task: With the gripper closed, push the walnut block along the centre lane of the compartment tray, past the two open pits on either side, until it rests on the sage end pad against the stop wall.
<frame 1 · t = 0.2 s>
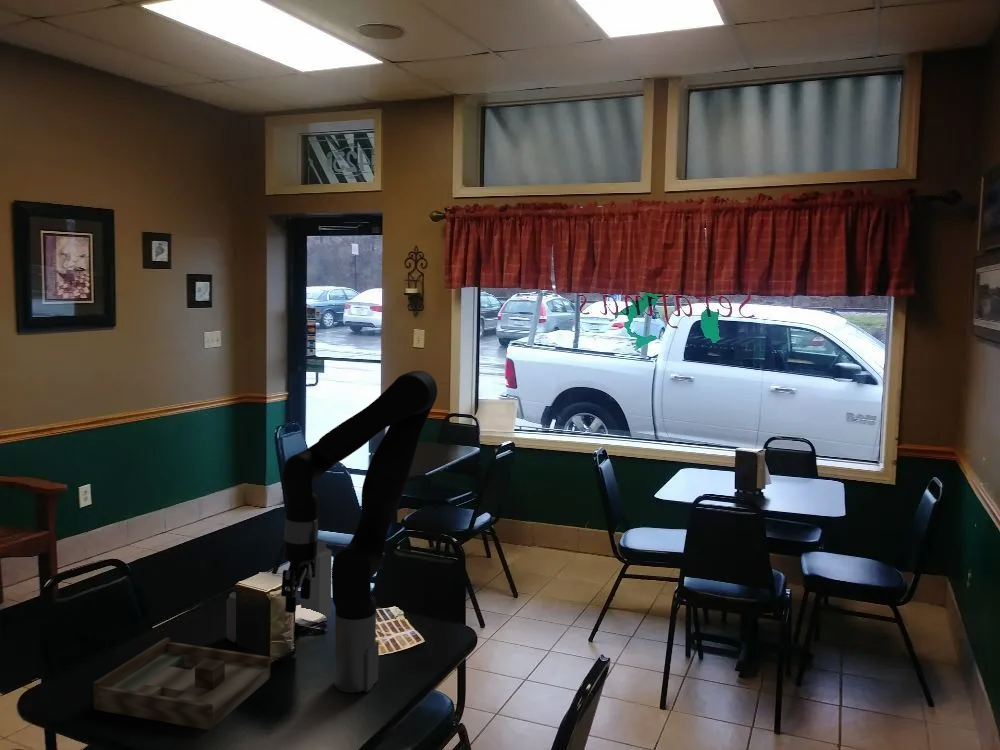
hand: (298, 605, 186), 18 cm above the table, tool pointing down, fingers open, 8 cm apart
block: (209, 683, 177), point 3 cm above the table, touching compartment tray
milk: (316, 618, 223), on the table
compartment tray: (186, 692, 179), on the table
can: (241, 639, 208), on the table
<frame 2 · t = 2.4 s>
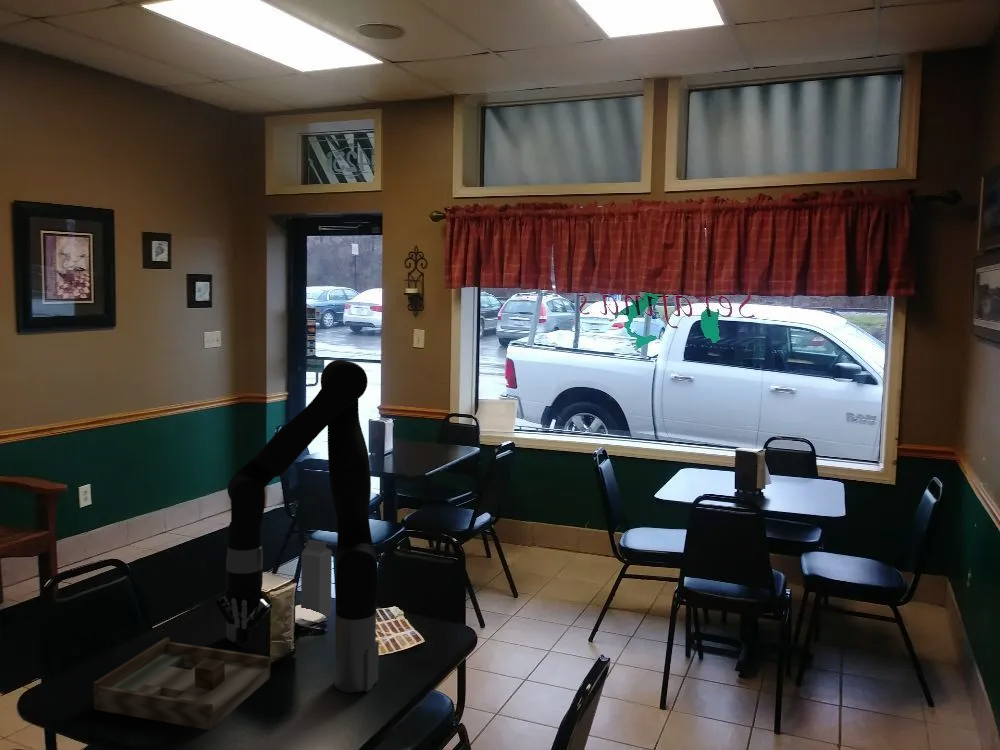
hand: (243, 643, 174), 13 cm above the table, tool pointing down, fingers closed
nothing on the table moved.
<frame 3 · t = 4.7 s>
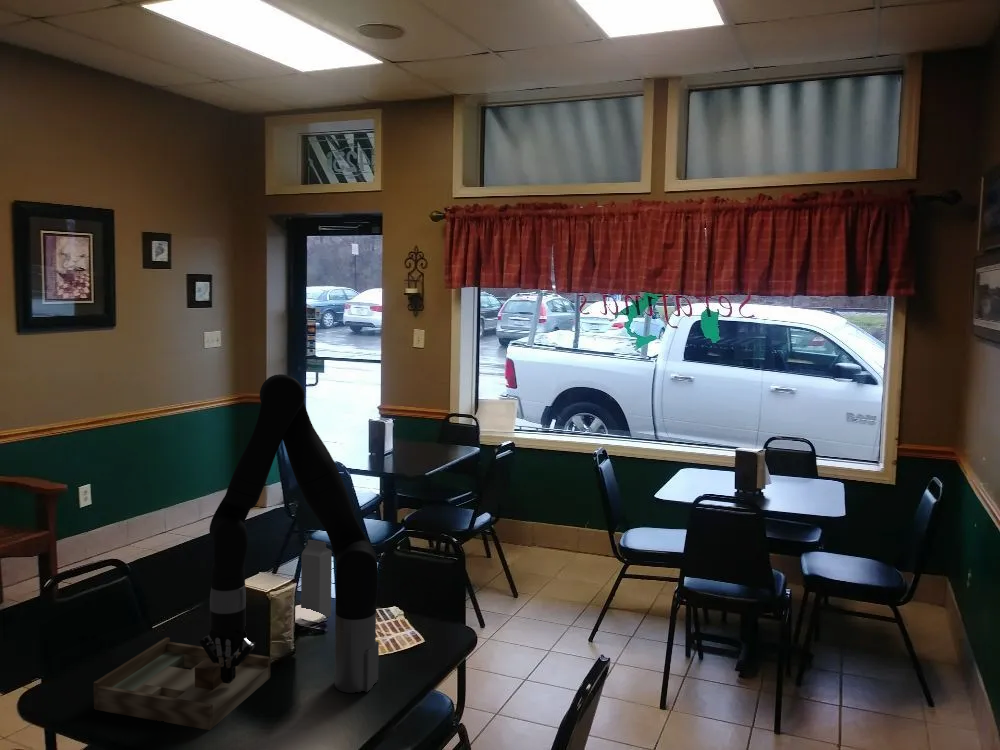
hand: (227, 681, 176), 4 cm above the table, tool pointing down, fingers closed
block: (209, 683, 177), point 3 cm above the table, touching compartment tray, gripper
everything else where it was.
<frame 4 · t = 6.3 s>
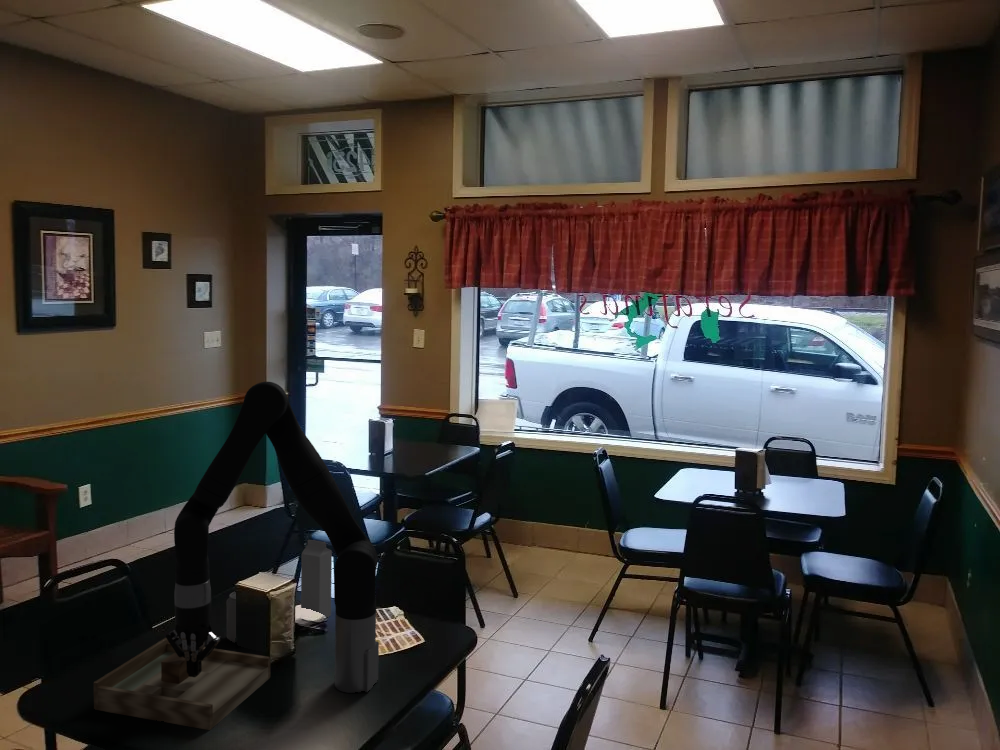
hand: (194, 675, 178), 4 cm above the table, tool pointing down, fingers closed
block: (176, 677, 180), point 3 cm above the table, touching gripper
everything else where it was.
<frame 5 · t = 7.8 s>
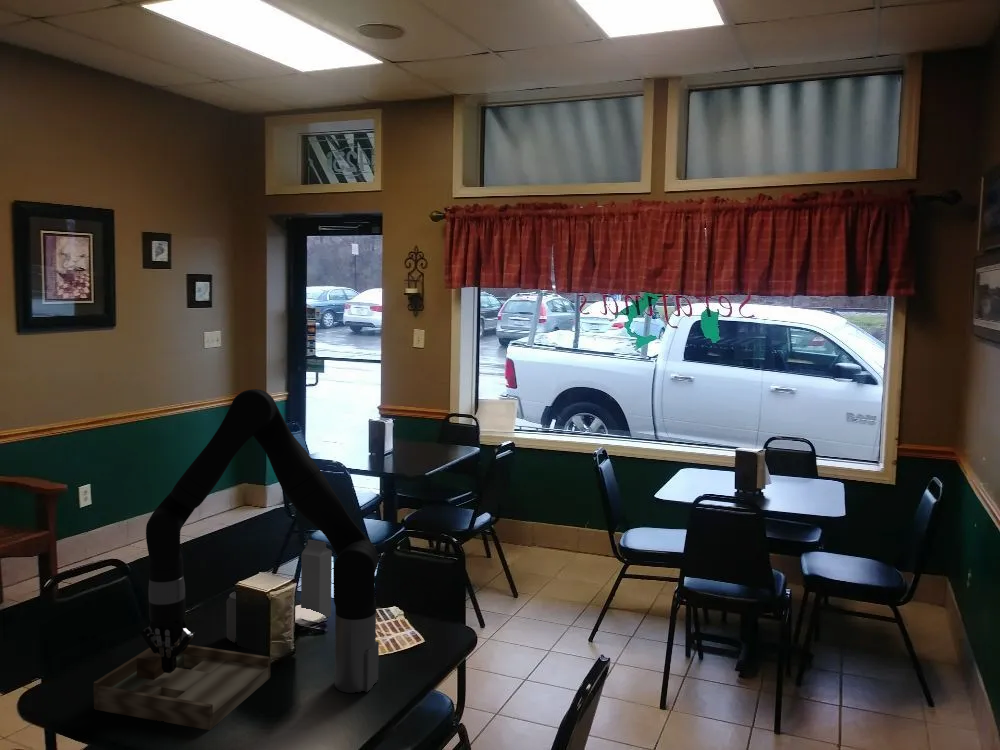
hand: (169, 671, 180), 4 cm above the table, tool pointing down, fingers closed
block: (152, 673, 181), point 3 cm above the table, touching compartment tray, gripper
everything else where it was.
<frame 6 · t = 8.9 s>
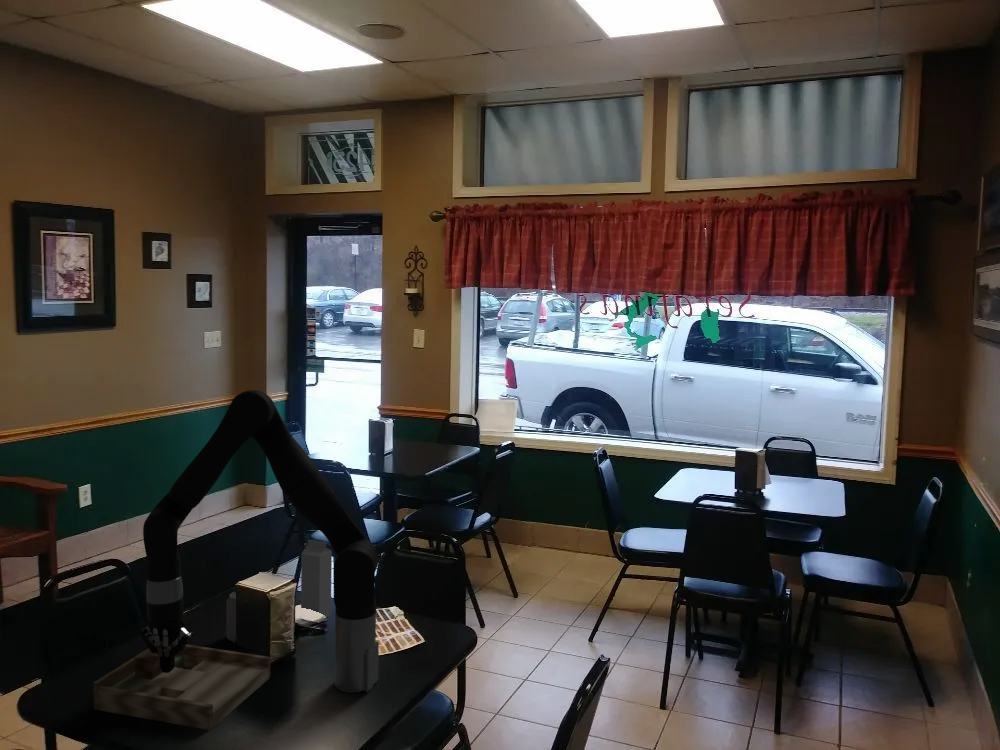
hand: (167, 671, 180), 4 cm above the table, tool pointing down, fingers closed
nothing on the table moved.
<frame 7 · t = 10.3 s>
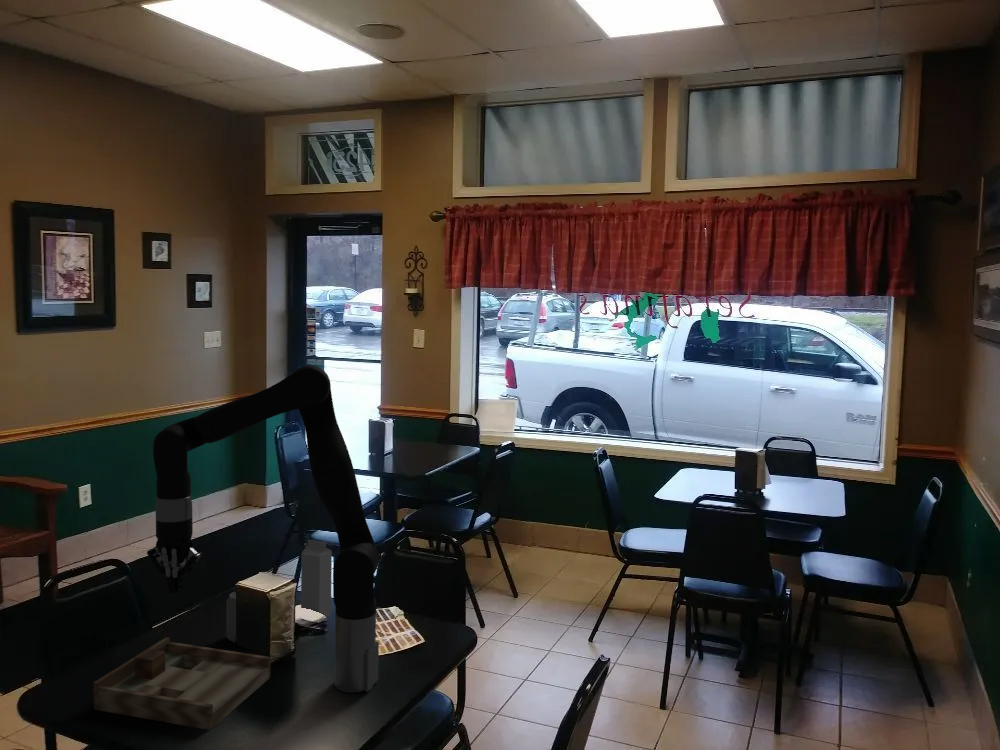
hand: (175, 592, 178), 23 cm above the table, tool pointing down, fingers closed
block: (150, 673, 181), point 3 cm above the table, touching compartment tray
everything else where it was.
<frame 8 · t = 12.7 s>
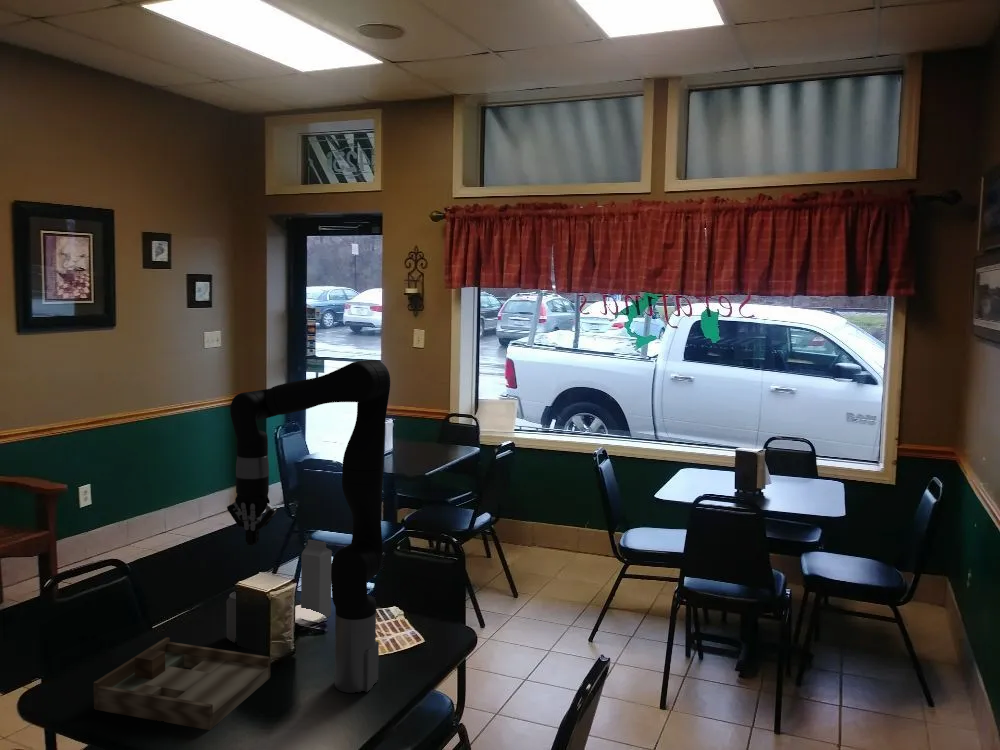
hand: (252, 544, 194), 29 cm above the table, tool pointing down, fingers closed
nothing on the table moved.
at the end: block inside the target area on the compartment tray (0.6 cm from its centre), point 3.0 cm above the compartment tray's base; block tilted 0° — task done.
